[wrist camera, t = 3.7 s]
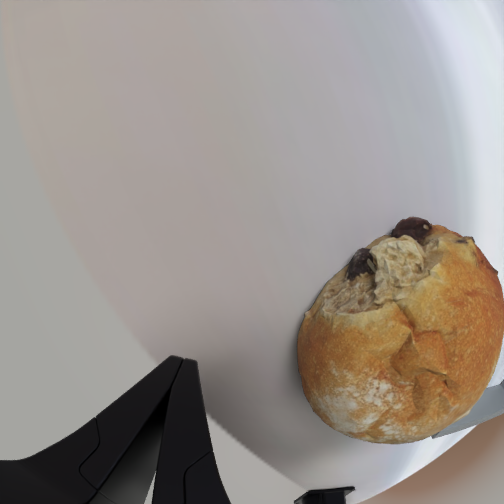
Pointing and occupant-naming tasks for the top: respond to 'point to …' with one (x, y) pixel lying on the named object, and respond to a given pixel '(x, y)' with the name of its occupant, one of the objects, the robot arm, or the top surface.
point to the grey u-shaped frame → (479, 410)
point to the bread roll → (403, 336)
